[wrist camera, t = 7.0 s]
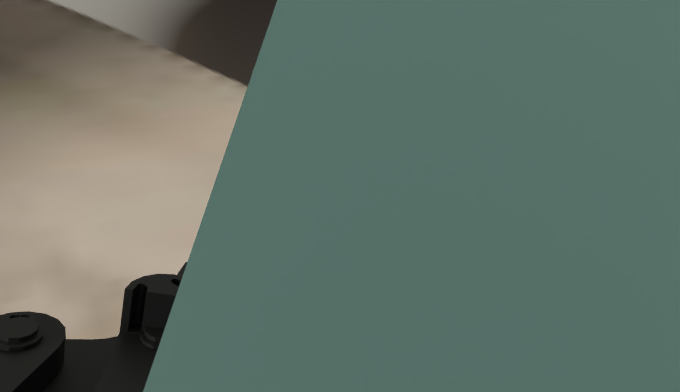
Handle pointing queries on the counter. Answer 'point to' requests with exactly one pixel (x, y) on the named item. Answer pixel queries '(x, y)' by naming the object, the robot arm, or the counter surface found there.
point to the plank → (443, 205)
